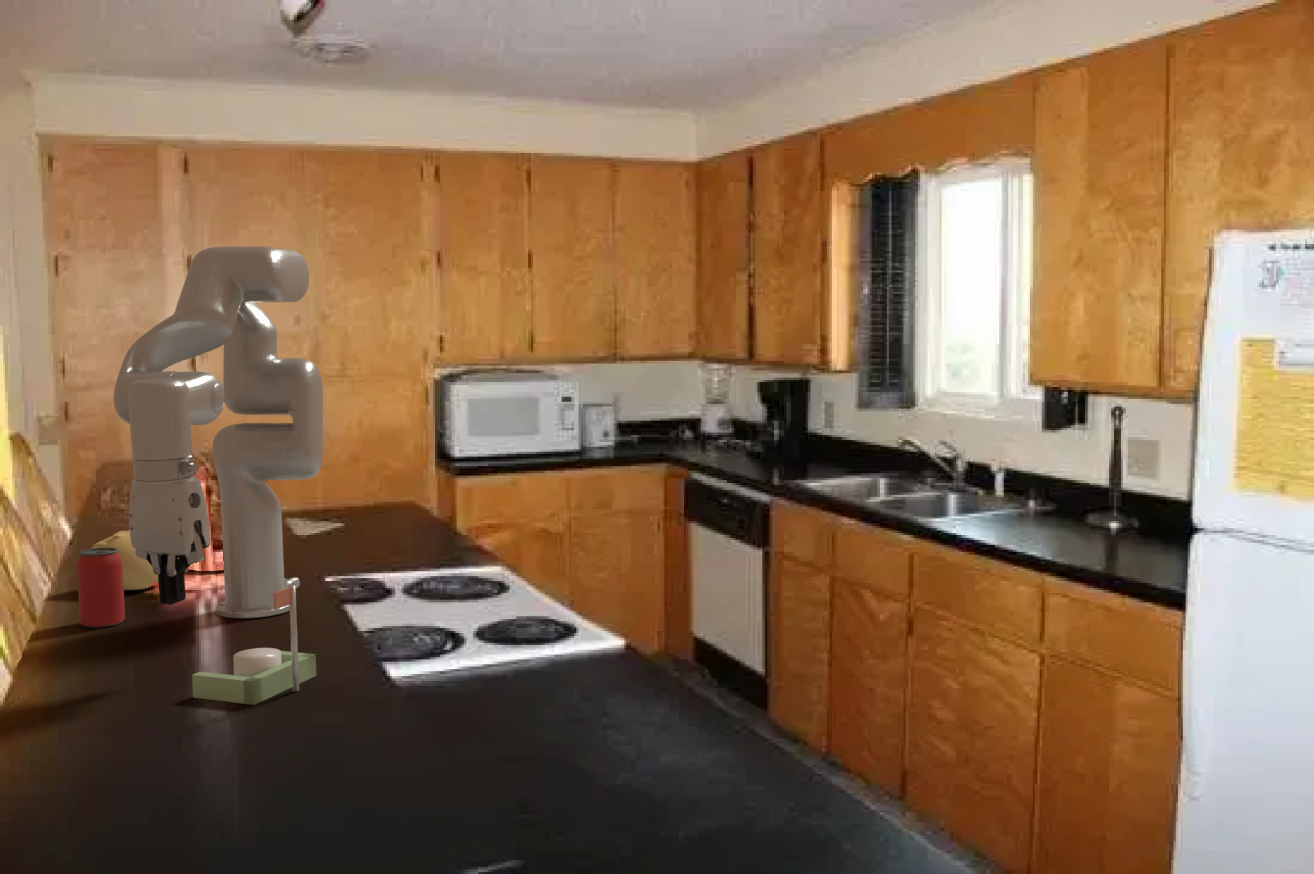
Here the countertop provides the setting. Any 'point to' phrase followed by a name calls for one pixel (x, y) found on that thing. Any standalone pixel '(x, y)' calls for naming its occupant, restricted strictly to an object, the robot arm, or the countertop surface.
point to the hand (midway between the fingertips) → (173, 601)
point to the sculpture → (130, 562)
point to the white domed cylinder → (255, 661)
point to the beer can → (100, 588)
